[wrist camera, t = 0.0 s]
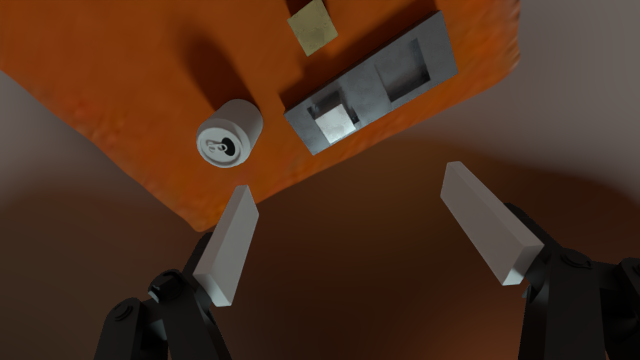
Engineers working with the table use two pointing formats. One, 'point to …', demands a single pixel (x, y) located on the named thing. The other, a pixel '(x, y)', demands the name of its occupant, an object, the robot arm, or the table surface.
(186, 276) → the robot arm
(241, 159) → the can
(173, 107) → the table surface
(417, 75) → the grey flat rectangular board
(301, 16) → the brass block
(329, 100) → the silver metal block
